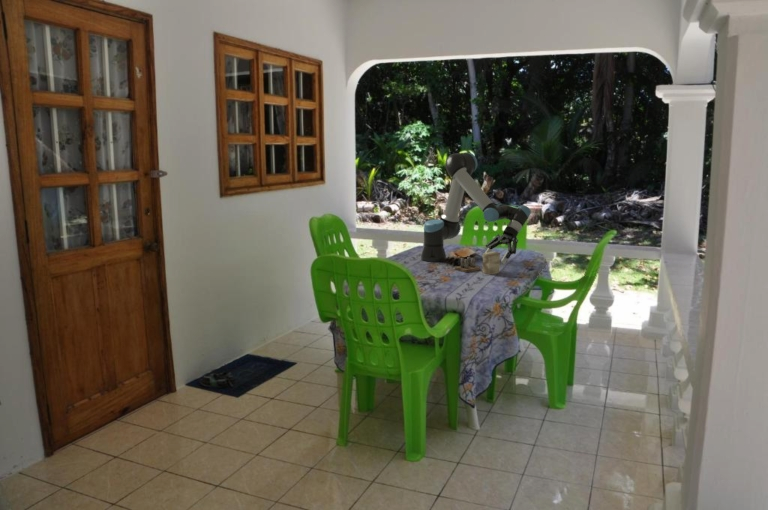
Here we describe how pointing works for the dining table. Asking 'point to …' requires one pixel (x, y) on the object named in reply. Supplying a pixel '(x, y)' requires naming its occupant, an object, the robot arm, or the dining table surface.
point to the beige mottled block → (491, 263)
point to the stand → (467, 265)
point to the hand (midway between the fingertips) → (493, 260)
